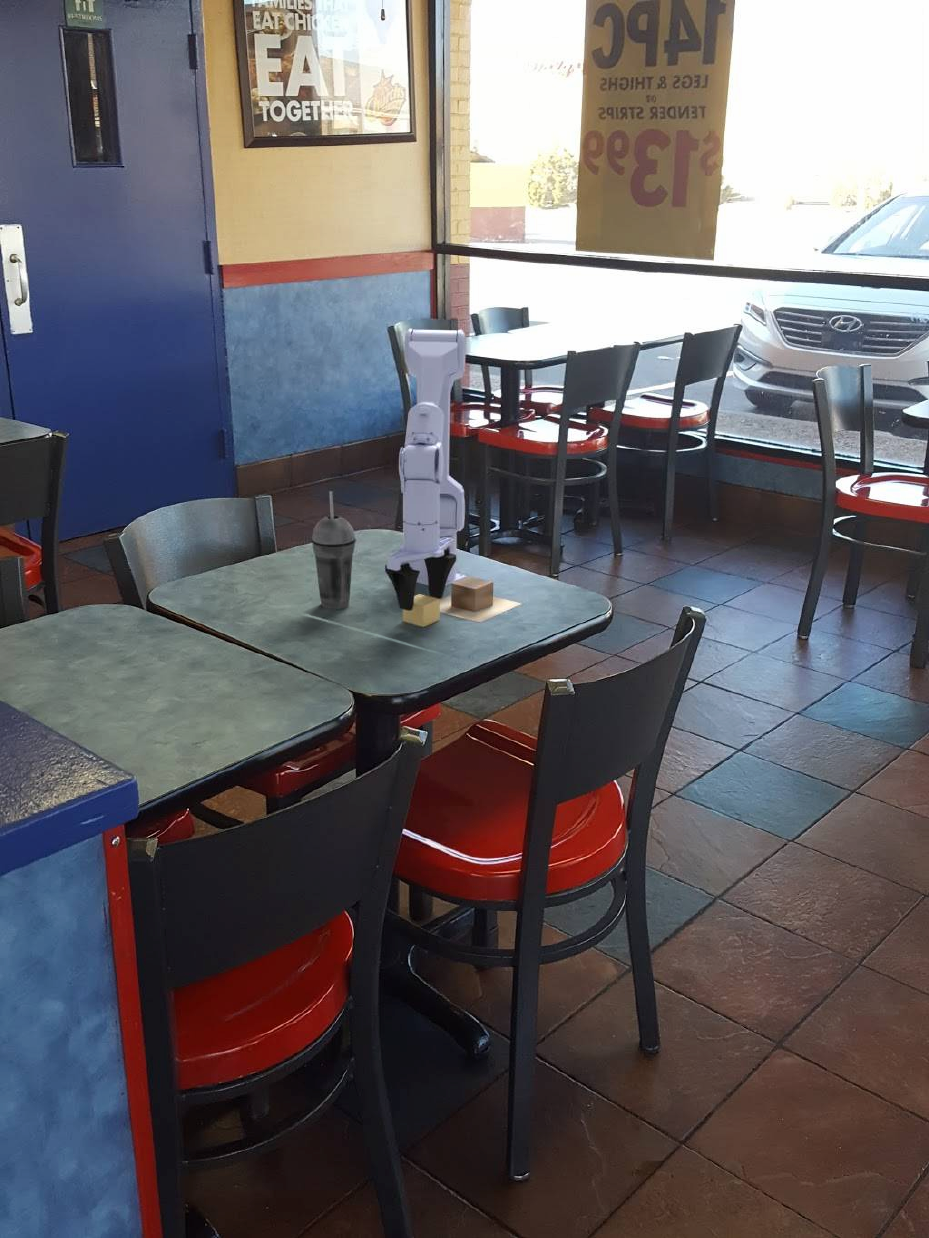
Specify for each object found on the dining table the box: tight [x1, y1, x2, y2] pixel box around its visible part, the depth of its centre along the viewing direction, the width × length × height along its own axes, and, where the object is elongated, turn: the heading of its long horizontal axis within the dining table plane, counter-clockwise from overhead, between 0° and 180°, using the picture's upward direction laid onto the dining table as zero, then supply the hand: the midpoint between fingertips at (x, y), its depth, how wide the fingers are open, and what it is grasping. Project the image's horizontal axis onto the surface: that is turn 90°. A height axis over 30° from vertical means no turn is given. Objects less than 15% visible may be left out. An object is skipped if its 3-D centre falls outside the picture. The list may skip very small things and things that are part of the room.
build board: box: [440, 594, 522, 624], centre depth 201 cm, size 12×12×1 cm
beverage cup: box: [311, 490, 357, 610], centre depth 197 cm, size 7×7×20 cm
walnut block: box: [450, 575, 494, 612], centre depth 200 cm, size 5×5×4 cm
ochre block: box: [402, 593, 441, 628], centre depth 193 cm, size 4×4×4 cm
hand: (421, 603), depth 192 cm, fingers open, 7 cm apart
